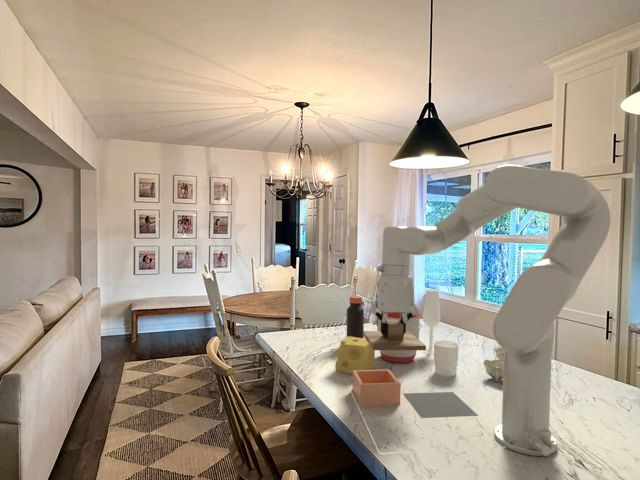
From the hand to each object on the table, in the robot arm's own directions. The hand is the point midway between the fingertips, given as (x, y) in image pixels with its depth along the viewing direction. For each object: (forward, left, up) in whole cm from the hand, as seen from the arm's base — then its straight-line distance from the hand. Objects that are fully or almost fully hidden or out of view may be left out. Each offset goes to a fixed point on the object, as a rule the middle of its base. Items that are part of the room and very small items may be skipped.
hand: (392, 335), depth 113 cm
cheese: (+24, +5, -18) cm, 31 cm away
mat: (-5, -12, -18) cm, 22 cm away
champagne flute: (+41, -28, -18) cm, 53 cm away
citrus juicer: (+35, -12, -18) cm, 41 cm away
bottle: (+51, 0, -18) cm, 54 cm away
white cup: (+18, -24, -18) cm, 35 cm away
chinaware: (+16, -46, -18) cm, 52 cm away
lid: (0, 0, -2) cm, 2 cm away
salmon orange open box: (+1, +4, -18) cm, 19 cm away
